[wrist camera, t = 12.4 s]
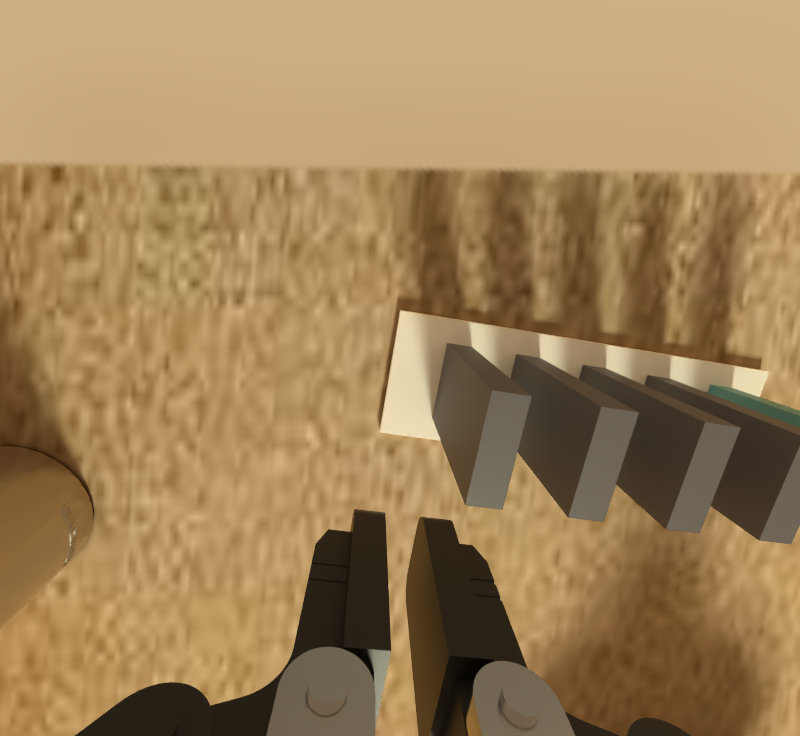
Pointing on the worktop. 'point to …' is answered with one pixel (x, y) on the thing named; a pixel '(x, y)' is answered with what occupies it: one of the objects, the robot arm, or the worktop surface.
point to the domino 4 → (757, 404)
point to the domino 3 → (668, 451)
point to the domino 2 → (572, 437)
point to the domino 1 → (479, 424)
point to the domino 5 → (751, 465)
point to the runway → (426, 346)
